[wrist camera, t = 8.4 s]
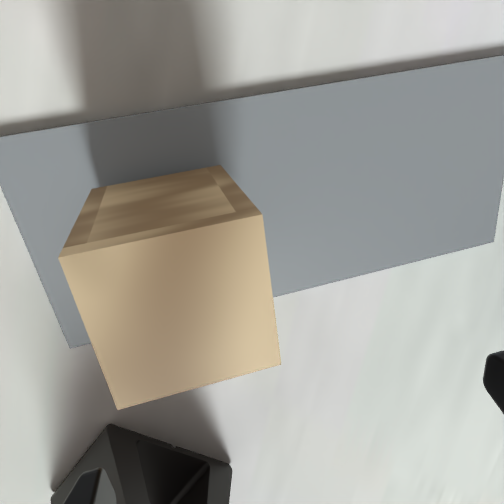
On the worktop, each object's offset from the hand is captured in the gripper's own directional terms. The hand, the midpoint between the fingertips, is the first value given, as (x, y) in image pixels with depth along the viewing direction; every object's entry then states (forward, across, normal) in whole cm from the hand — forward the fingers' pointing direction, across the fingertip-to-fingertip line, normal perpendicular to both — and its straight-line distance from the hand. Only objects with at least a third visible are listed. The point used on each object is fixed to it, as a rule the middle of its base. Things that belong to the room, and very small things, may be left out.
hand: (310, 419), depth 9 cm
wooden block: (+10, +2, -1) cm, 10 cm away
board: (+12, -4, -1) cm, 12 cm away
